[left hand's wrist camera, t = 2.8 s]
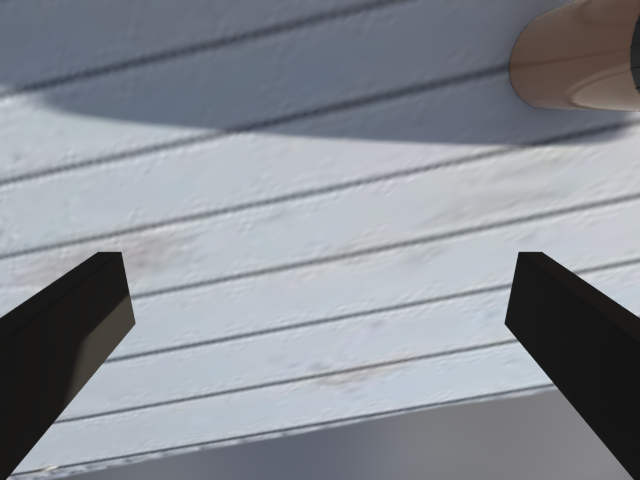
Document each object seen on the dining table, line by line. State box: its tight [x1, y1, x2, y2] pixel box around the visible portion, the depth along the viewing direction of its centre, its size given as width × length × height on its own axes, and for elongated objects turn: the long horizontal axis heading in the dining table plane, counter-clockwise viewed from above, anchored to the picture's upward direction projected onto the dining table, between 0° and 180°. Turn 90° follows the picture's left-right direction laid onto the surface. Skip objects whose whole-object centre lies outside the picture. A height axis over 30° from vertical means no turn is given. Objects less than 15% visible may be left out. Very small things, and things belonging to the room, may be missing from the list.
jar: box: [509, 0, 640, 112], centre depth 28 cm, size 9×9×17 cm
